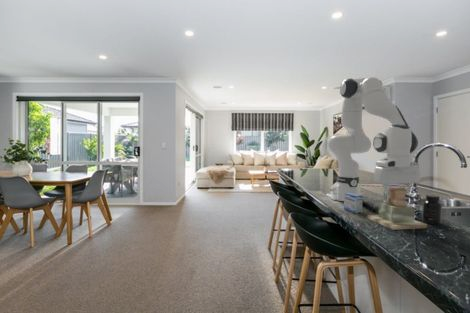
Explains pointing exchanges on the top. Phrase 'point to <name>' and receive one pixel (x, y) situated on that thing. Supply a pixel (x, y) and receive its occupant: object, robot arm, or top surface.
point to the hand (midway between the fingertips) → (396, 193)
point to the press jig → (396, 217)
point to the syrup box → (388, 194)
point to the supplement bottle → (432, 210)
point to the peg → (396, 197)
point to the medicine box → (353, 202)
